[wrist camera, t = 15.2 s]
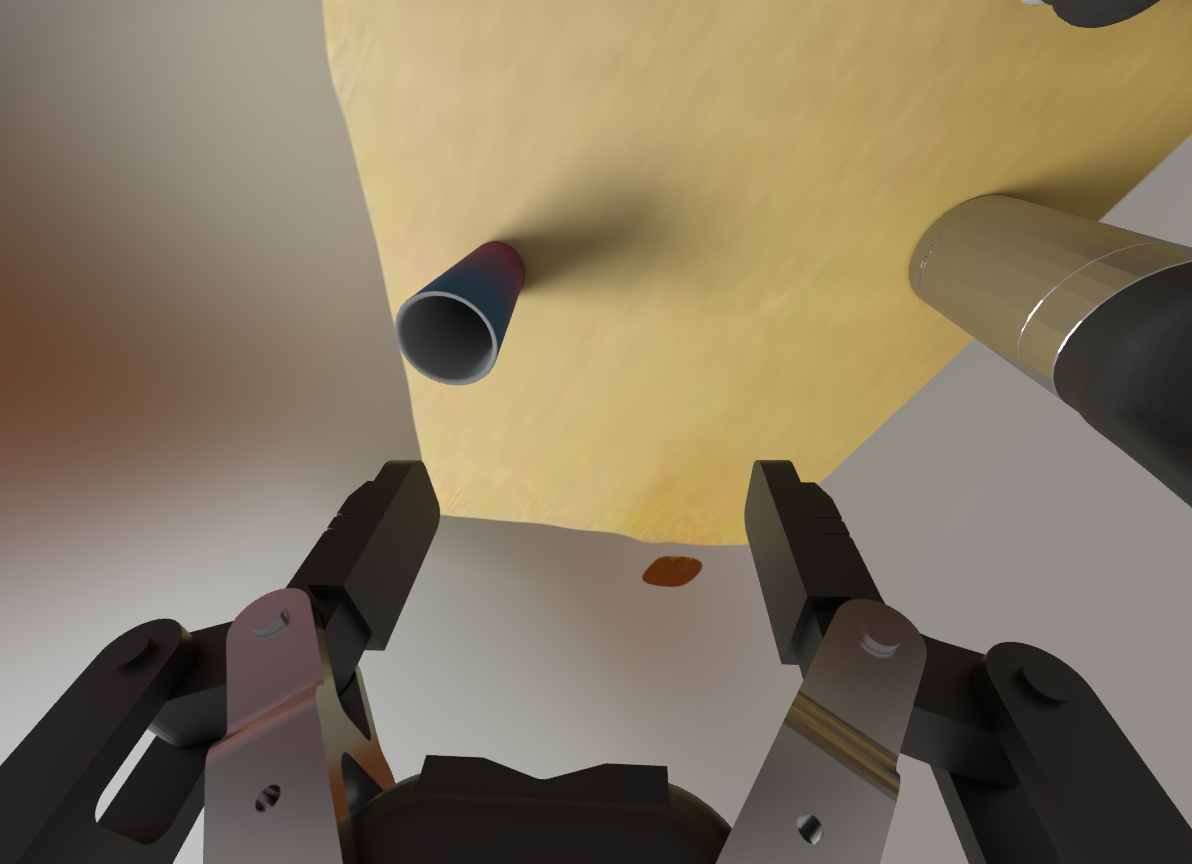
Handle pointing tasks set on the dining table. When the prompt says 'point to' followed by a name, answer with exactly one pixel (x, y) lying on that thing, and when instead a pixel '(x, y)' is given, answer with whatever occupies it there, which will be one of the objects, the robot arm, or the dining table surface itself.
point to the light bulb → (1095, 10)
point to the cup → (462, 316)
